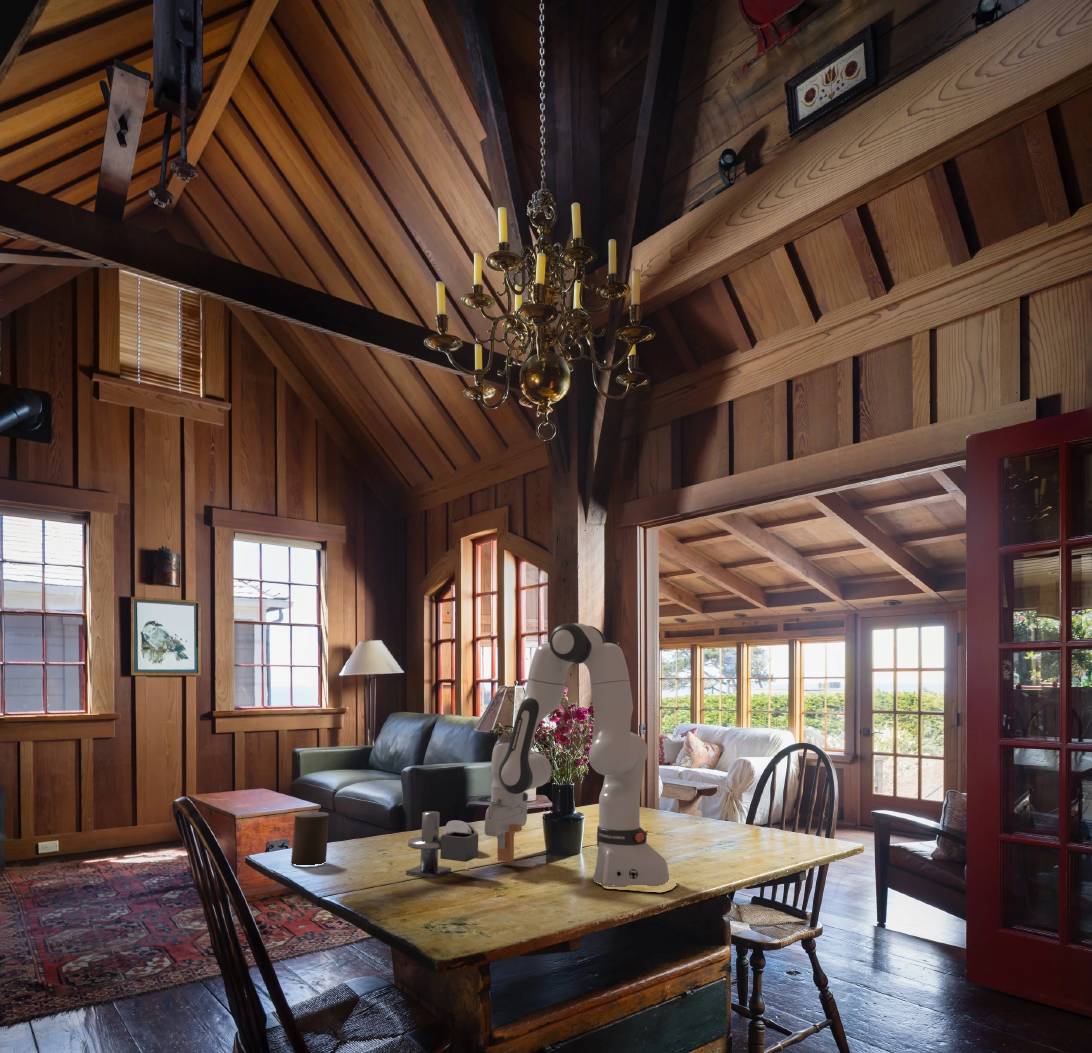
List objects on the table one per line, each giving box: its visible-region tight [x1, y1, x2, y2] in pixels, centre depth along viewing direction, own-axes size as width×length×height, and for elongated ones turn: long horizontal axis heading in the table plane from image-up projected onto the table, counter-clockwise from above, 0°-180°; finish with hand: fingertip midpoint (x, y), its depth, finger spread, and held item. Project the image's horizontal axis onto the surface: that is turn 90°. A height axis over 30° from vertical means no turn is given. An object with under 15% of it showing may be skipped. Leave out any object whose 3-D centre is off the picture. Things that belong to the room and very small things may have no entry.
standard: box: [405, 810, 479, 880], centre depth 231 cm, size 20×12×16 cm, turn 65°
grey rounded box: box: [439, 819, 479, 851], centre depth 260 cm, size 17×5×10 cm, turn 33°
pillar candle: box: [290, 811, 330, 865], centre depth 241 cm, size 10×10×15 cm
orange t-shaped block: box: [497, 824, 523, 863], centre depth 242 cm, size 9×2×10 cm, turn 65°
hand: (505, 847), depth 242 cm, fingers closed on orange t-shaped block, 2 cm apart
